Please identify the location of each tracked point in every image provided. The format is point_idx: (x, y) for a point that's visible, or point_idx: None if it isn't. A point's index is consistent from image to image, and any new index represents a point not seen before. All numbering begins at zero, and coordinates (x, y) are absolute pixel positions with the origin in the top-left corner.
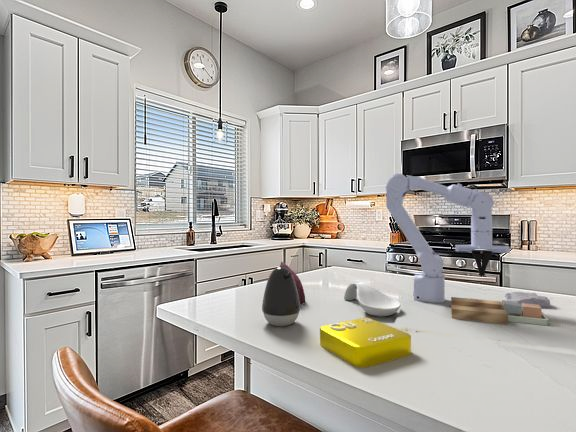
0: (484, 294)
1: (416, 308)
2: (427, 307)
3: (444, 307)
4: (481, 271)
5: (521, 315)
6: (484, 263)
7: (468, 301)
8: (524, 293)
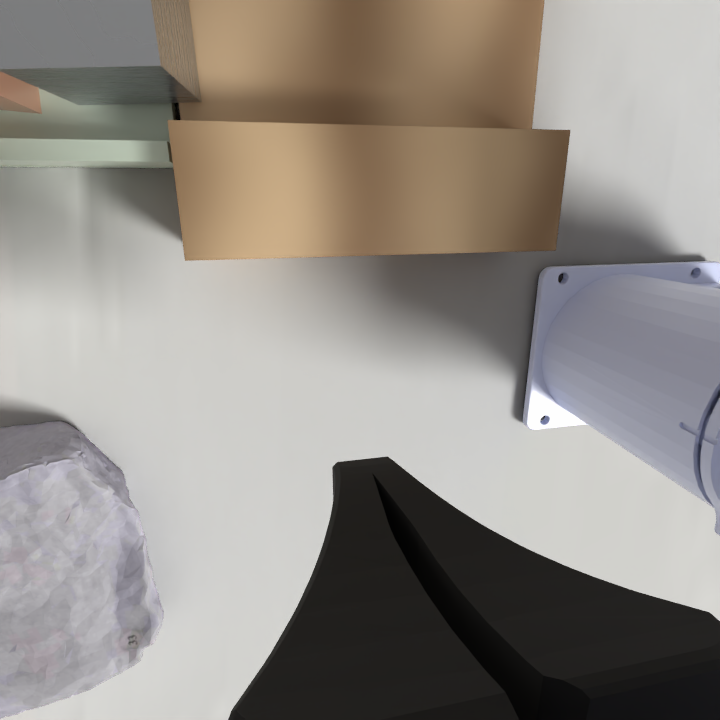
0: None
1: (715, 143)
2: (646, 203)
3: (545, 253)
4: (383, 480)
5: (30, 93)
6: (374, 562)
7: (443, 132)
8: (15, 677)
